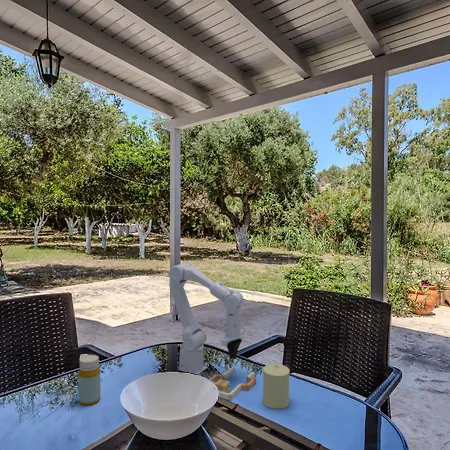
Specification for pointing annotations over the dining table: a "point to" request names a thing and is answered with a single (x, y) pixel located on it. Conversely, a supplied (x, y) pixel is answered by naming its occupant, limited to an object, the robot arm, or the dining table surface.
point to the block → (223, 385)
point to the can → (276, 386)
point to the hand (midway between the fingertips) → (232, 357)
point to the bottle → (89, 380)
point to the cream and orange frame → (240, 387)
